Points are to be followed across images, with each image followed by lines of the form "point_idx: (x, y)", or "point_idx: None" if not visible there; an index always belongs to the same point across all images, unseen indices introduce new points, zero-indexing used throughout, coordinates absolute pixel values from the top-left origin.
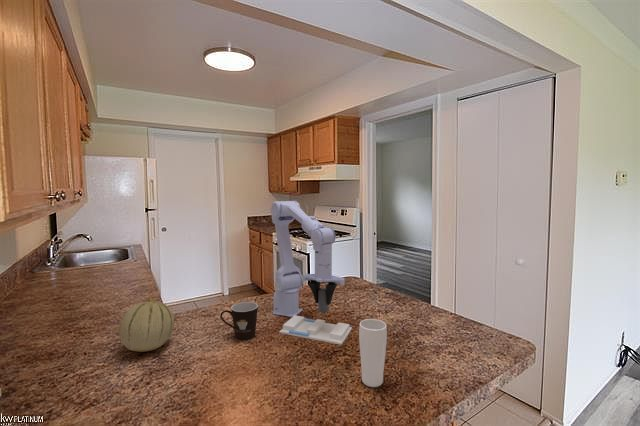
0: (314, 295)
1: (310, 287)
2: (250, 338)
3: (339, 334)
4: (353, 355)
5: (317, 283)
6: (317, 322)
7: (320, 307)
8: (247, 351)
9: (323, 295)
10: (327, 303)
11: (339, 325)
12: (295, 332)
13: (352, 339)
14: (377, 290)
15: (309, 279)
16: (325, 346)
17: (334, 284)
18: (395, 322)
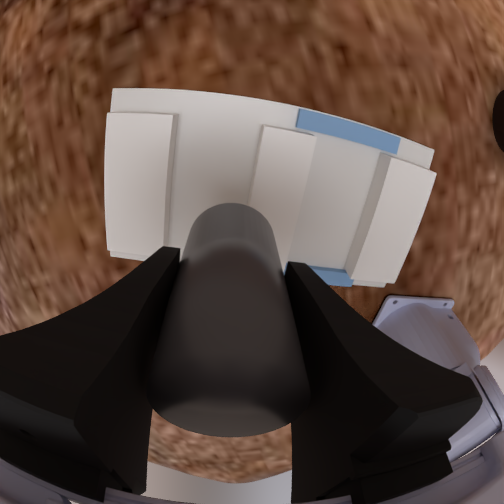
0: (338, 303)
1: (437, 368)
2: (499, 96)
3: (119, 122)
4: (63, 33)
5: (332, 469)
6: (274, 234)
7: (246, 222)
8: (477, 15)
9: (203, 300)
10: (170, 250)
11: (147, 225)
12: (369, 129)
13: (84, 157)
14: (156, 457)
15: (453, 476)
16: (187, 50)
17: (2, 434)
18: (24, 322)
